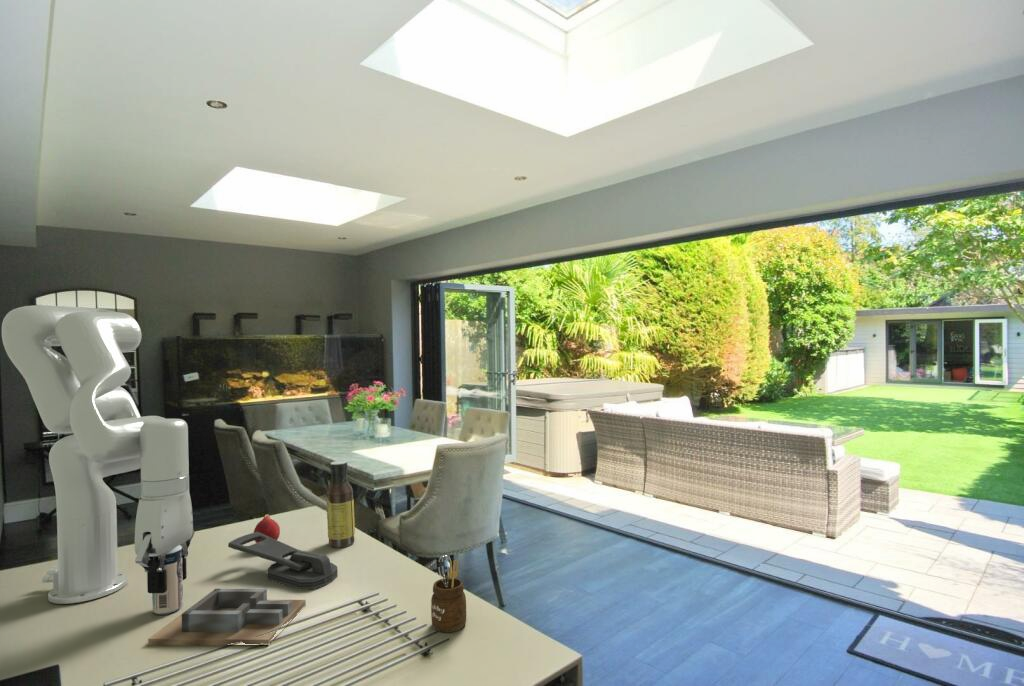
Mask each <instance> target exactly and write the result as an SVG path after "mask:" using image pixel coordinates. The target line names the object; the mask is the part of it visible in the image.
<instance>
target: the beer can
mask: <svg viewBox="0 0 1024 686" xmlns="http://www.w3.org/2000/svg"><path fill="white" fill-rule="evenodd" d="M155 552H156V550H154V552H153V553H155ZM153 560H155V561H156V562H158V557H153ZM163 570H166V574H167V591H166V592H165V593H151V595H152V613H154V614H157V615H160V616H161V615H162V616H163V615H169V614H172V613H174V612H177V611H179V609H180V608H182V607H183V606H184V588H183V587H184V584H183V582H184V580H183V576H182V546H181V545H178V546H177V547H175V548H173V549H171V550H170V551H168V552H166V556H165V563H164V569H163Z"/></svg>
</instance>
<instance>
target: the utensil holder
mask: <svg viewBox="0 0 1024 686" xmlns="http://www.w3.org/2000/svg"><path fill="white" fill-rule="evenodd" d="M444 557H445V555H442V556H441V557H439V560H438V561H440V560H441V561H444ZM445 559H446V560H445V561H446V562H449V565H446V566H447V575H448V577H445V575H441V571H440V568H438V574H439V576H440V579H438V580H436V581H434V583H433V586H432V593H433V594H432V596H431V600H430V607H431V608H430V611H431V613H430V616H431V625H432V627H433V629H435V630H436V631H437V632H439V633H453V632H457V631H459V630H462V629H463V628H464V627H465V625H466V624H467V596H466V594H465V592H464V589H465V587H464V582H463V581H462V579H460V578H458V575H459V563H460V560H459V559H456V560H453V561H452V560H451V558H450V556H447V558H445ZM448 559H449V561H448ZM452 562H453V563H452ZM441 568H442V573H445V572H444V567H441ZM442 576H443V577H442Z"/></svg>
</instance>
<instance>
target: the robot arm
mask: <svg viewBox="0 0 1024 686" xmlns="http://www.w3.org/2000/svg"><path fill="white" fill-rule="evenodd" d="M141 330H142V329H141V327H140V325H139V323H138V321H137V320H136V319H135V318H134V317H133V316H131V315H129V314H127V313H125V312H118V311H114V310H108V309H103V308H98V307H97V308H96V307H88V306H87V307H84V306H64V305H63V306H62V305H47V304H46V305H41V304H39V305H24V306H19V307H17V308H13V309H12V310H10V311H8V312H7V313H6V315H5V316H4V318H3V320H2V323H1V339H2V344H3V347H4V350H5V353H6V355H7V357H8V358H9V359H10V362H12V364H13V365H14V367H15V368H16V369H17V370H18V372H19V373H20V375H22V377H23V379H24V380H25V382H26V384H27V387H28V389H29V391H30V394H31V397H32V400H33V402H34V403H35V406H36V409H37V411H38V414H39V416H40V418H41V420H42V423H43V424H44V426H45V428H46V429H47V430H48V431H50V432H51V433H54V434H57V435H58V434H59V435H63V434H66V436H64V437H62V438H61V439H59V440H57V441H55V443H54V444H53V445H52V446H51V448H50V451H49V454H48V462H49V468H50V472H51V475H52V479H53V484H54V490H55V503H56V524H57V525H56V529H57V531H56V532H57V535H56V537H57V540H56V541H57V568H49V569H48V570H47V572H46V574H45V575H44V576H42V578H41V581H42V583H52V586H53V587H52V589H51V590H49V592H48V594H47V597H48V598H47V599H48V601H49V602H50V603H53V604H57V605H67V604H68V605H69V604H77V603H83V602H89V601H93V600H96V599H99V598H103V597H105V596H108V595H111V594H112V593H115V592H117V591H119V590H120V589H122V588H124V586H126V585H127V583H128V575H126V574H125V573H124V572H123V573H122V572H119V570H118V569H119V567H118V566H119V565H118V561H119V560H118V559H119V558H118V526H117V525H118V524H117V523H118V519H117V517H118V515H117V511H118V510H117V499H116V498H117V497H116V495H115V493H114V491H113V490H112V489H111V488H110V486H108V485H107V484H106V483H105V481H104V480H103V479H104V478H107V477H110V476H113V475H119V474H124V473H129V472H132V471H137V470H140V490H141V491H140V492H141V493H140V495H141V499H139V500H138V504H137V508H136V509H137V510H136V516H135V517H136V518H135V525H134V552H135V555H136V557H135V560H134V562H135V564H137V565H139V566H141V567H142V568H143V569H144V572H145V573H146V577H147V578H146V579H147V581H146V583H147V593H148V594H152V593H165V592H166V591H167V574H166V570H163V569H164V563H165V556H166V552H168V551H170V550H171V549H173V548H175V547H177V546H178V545H181V546H182V576H183V581H184V580H186V579H187V576H188V573H187V557H188V555H189V551H188V549H189V546H190V545H191V541H192V539H193V537H194V535H195V530H194V522H193V521H194V518H193V506H192V499H191V494H190V474H189V473H190V471H189V467H190V464H189V463H190V461H189V426H188V423H187V422H186V420H184V419H182V418H165V417H164V416H163V417H162V416H159V415H146V416H141V414H140V411H139V409H138V407H137V405H136V402H135V401H134V398H133V396H132V395H131V394H130V393H129V392H128V391H127V390H126V389H125V388H123V387H122V385H124V384H125V383H126V382H127V381H128V380H129V379H130V377H131V374H132V368H131V366H130V365H129V363H128V361H127V359H126V358H125V356H124V354H123V353H129V352H132V351H135V350H136V349H138V347H139V346H140V343H141V341H142V331H141ZM52 347H61V349H62V351H63V353H64V355H65V356H64V355H63V354H61V352H58V351H57V350H55V349H53V348H52ZM67 434H70V435H67ZM154 550H156V552H155V553H153V552H154ZM153 557H158V562H156V561H155V560H153Z"/></svg>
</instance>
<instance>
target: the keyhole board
mask: <svg viewBox="0 0 1024 686" xmlns="http://www.w3.org/2000/svg"><path fill="white" fill-rule="evenodd" d="M267 591H268V589H267V588H214V589H213V590H212V591H210V592H209V593H208V594H206V595H205V596H203V597H202V598H201V599H199V600H198V601H197V602H196V603H195V604H193V605H192V606H189V608H188V609H186V610H185V611H183V612H182V613H181V614H179V615H178V616H177V617H175V618H174V619H173V620H172V621H169V623H168V624H166V625H165V626H164V627H162V628H161V629H160V630H158V631H157V632H156V633H154V634H152V635H151V636H150V637H149V638H148V639H147V640H148V642H147V643H148V646H214V647H215V646H223V645H228V644H231V643H236V642H240V641H242V642H243V643H245V644H261V643H267V644H268V643H269V641H270V640H271V639H272V638H273V637H274V635H275V634H276V632H277V631H275V632H272V633H268V634H265V635H262V636H258V637H255V636H257V635H260V634H264V633H267V632H270V631H272V630H274V629H277V628H280V627H281V626H282V625H284V624H286V623H287V622H289V621H290V620H291V619H293V618H294V619H295V618H296V616H297V615H298V614H299V613H300V612H301V611H302V610H303V609H302V608H303V607H306V602H307V601H306V599H268V592H267ZM301 609H302V610H301ZM300 610H301V611H300ZM299 611H300V612H299ZM298 612H299V613H298ZM297 613H298V614H297ZM294 619H293V620H294Z"/></svg>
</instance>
